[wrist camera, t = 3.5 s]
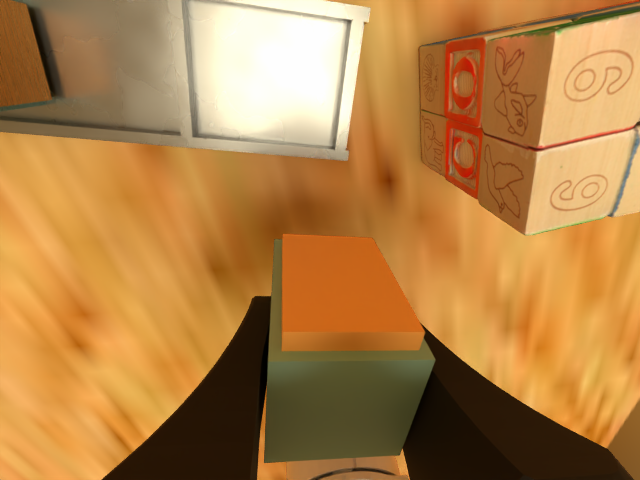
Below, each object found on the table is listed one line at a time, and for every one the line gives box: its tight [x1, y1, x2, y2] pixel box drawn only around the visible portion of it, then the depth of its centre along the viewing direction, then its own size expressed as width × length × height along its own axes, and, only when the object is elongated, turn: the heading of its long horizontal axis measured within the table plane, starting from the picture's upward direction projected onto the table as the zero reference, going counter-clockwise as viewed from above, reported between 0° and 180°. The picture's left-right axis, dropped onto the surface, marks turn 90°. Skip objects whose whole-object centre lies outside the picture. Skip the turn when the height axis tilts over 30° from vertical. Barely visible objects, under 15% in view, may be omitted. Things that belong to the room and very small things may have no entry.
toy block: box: [264, 234, 435, 463], centre depth 11 cm, size 4×5×6 cm
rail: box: [0, 0, 370, 161], centre depth 12 cm, size 6×19×7 cm, turn 84°
